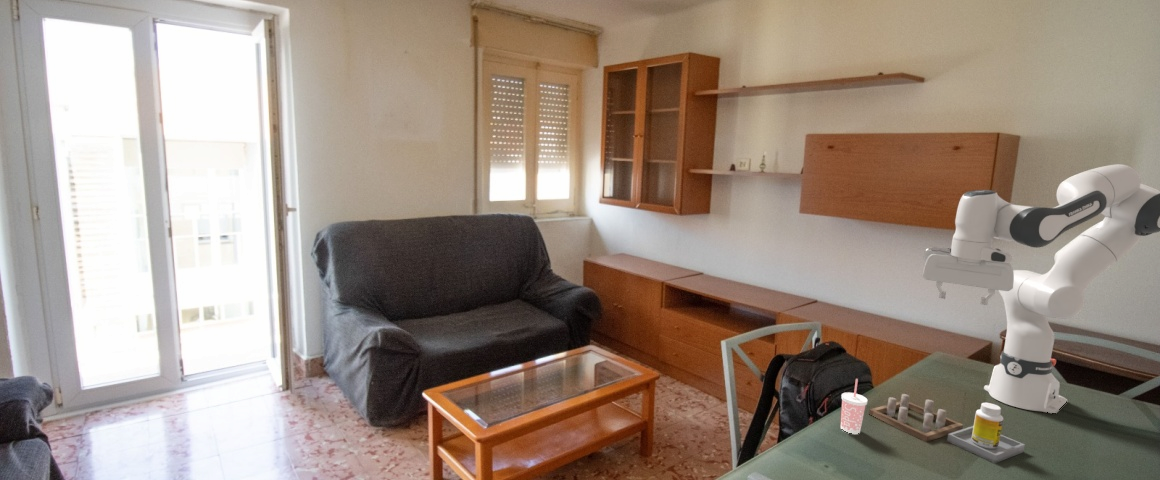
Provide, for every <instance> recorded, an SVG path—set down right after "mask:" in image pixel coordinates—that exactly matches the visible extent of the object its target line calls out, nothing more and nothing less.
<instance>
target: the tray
mask: <svg viewBox="0 0 1160 480" xmlns="http://www.w3.org/2000/svg"><path fill="white" fill-rule="evenodd" d="M973 426H974V425H971V426H968V427H965V428H963V429H962V430H959V431H956V432H953V433H950V434H948V435H947V439H946V442H948V443H949V444H952V445H954V446H956V447H959V448H961V449H962V450H965V451H967V452H969V453H971V454H974V455H976V456H977V457H981V458H982V459H984V460H987V461H989V462H990V463H993V464H997V463H999V462H1001V461H1004V460H1007V459H1009V458H1012V457H1014V456H1017V455H1019V454H1022V453H1024V451H1025V445H1026V444H1025V443H1023V442H1020V441H1017V440H1015V439H1013V438H1010V437H1007V436H1005V435H1003V434H1002V433H1001V434H1000V440H999V445H998V447H997V448H995V449H988V448H984V447H981V446H978V445H977V444H975V443H974V442H973V441H972V432H973Z"/></svg>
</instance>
